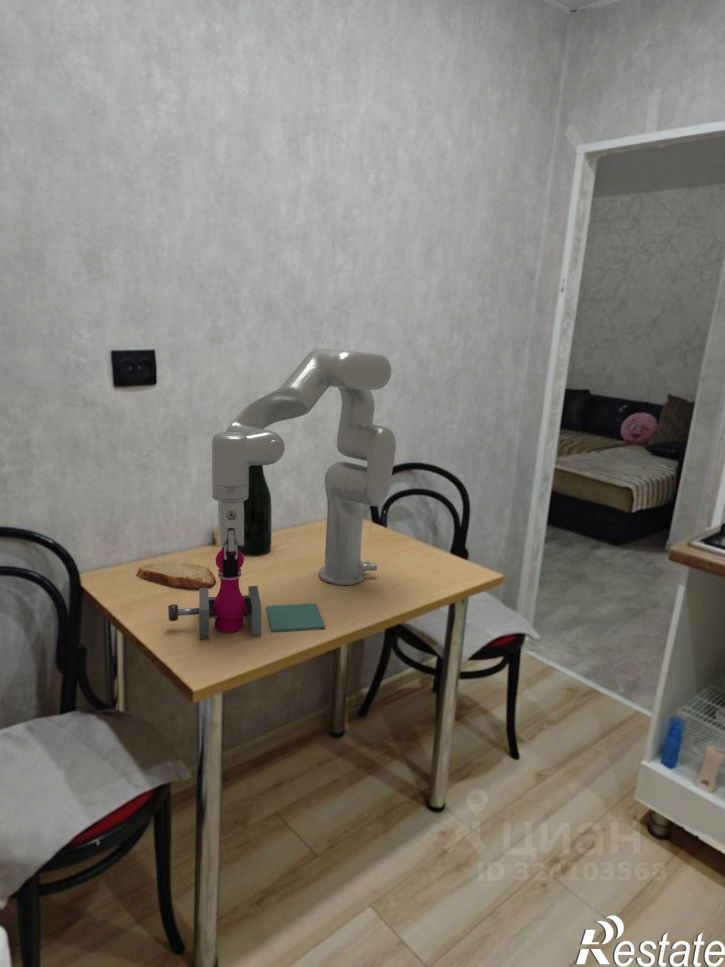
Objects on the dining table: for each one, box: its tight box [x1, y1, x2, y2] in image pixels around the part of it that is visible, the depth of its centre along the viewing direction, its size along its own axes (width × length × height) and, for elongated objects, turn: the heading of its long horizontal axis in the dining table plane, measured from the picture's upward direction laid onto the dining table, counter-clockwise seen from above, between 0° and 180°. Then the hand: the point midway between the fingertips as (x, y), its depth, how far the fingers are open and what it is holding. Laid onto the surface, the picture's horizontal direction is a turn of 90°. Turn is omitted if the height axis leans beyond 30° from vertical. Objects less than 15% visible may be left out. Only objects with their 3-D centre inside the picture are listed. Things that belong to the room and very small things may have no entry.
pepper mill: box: [213, 542, 246, 634], centre depth 141 cm, size 7×7×20 cm
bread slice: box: [135, 562, 217, 590], centre depth 166 cm, size 18×18×4 cm
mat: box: [265, 603, 326, 633], centre depth 149 cm, size 12×12×1 cm
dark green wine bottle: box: [237, 465, 273, 556], centre depth 186 cm, size 10×10×33 cm
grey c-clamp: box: [167, 585, 262, 641], centre depth 143 cm, size 20×13×7 cm, turn 104°
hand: (229, 569), depth 140 cm, fingers closed on pepper mill, 6 cm apart
